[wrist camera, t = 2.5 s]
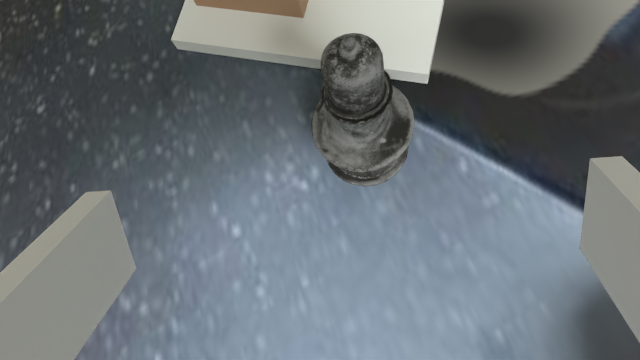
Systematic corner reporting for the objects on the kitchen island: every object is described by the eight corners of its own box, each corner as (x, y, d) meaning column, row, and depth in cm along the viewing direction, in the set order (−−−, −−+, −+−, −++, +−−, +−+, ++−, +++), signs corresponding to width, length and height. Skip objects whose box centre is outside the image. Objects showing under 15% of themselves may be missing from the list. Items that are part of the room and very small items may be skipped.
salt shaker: (312, 117, 34) (268, 0, 23) (400, 95, 34) (399, -35, 23) (330, 200, 32) (292, 116, 21) (423, 178, 32) (435, 80, 21)
